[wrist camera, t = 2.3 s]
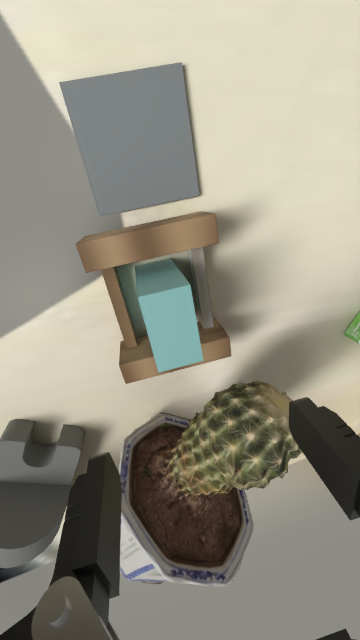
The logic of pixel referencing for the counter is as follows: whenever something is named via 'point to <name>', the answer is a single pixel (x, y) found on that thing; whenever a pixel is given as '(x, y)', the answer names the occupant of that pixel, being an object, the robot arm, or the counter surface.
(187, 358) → the teal box
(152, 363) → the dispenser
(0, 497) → the cable clip
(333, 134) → the counter surface
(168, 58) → the counter surface
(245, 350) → the counter surface
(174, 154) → the mat
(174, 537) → the potted plant
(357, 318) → the ink box
